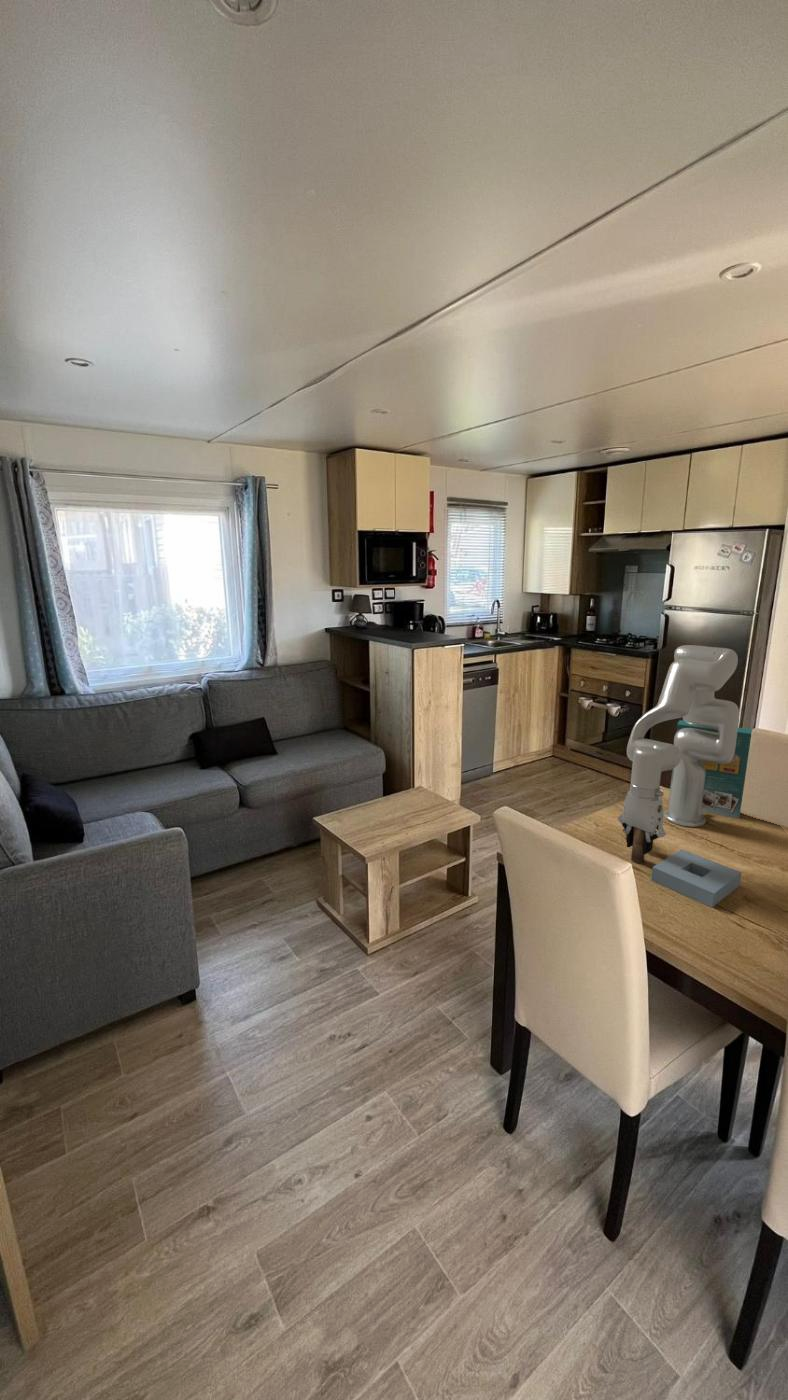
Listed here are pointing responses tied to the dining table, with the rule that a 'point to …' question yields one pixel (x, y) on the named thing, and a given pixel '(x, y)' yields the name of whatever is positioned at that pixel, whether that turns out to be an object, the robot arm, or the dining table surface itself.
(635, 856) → the peg
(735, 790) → the cake mix box
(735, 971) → the dining table surface
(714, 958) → the dining table surface
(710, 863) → the socket block
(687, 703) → the robot arm
